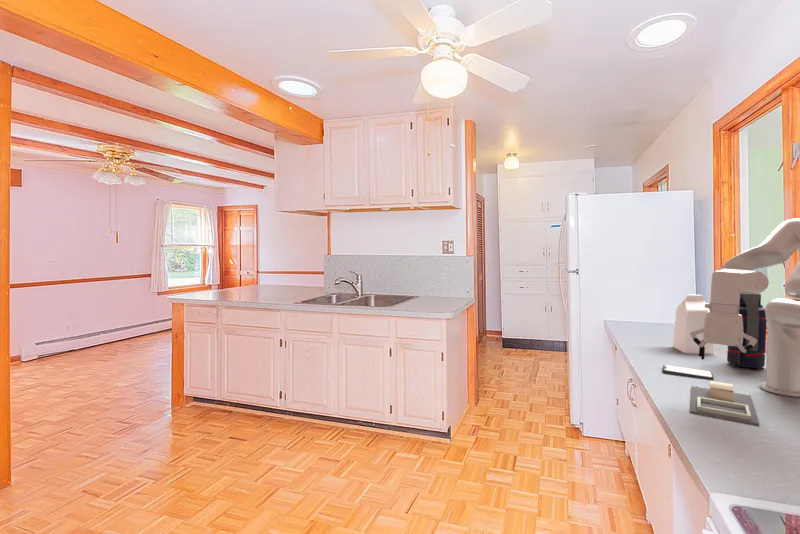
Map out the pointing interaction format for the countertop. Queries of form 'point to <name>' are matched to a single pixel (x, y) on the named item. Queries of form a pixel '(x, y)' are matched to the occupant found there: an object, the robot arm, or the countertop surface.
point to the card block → (721, 391)
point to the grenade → (751, 332)
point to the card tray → (723, 412)
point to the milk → (690, 324)
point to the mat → (737, 399)
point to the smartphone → (687, 372)
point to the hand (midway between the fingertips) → (720, 361)
